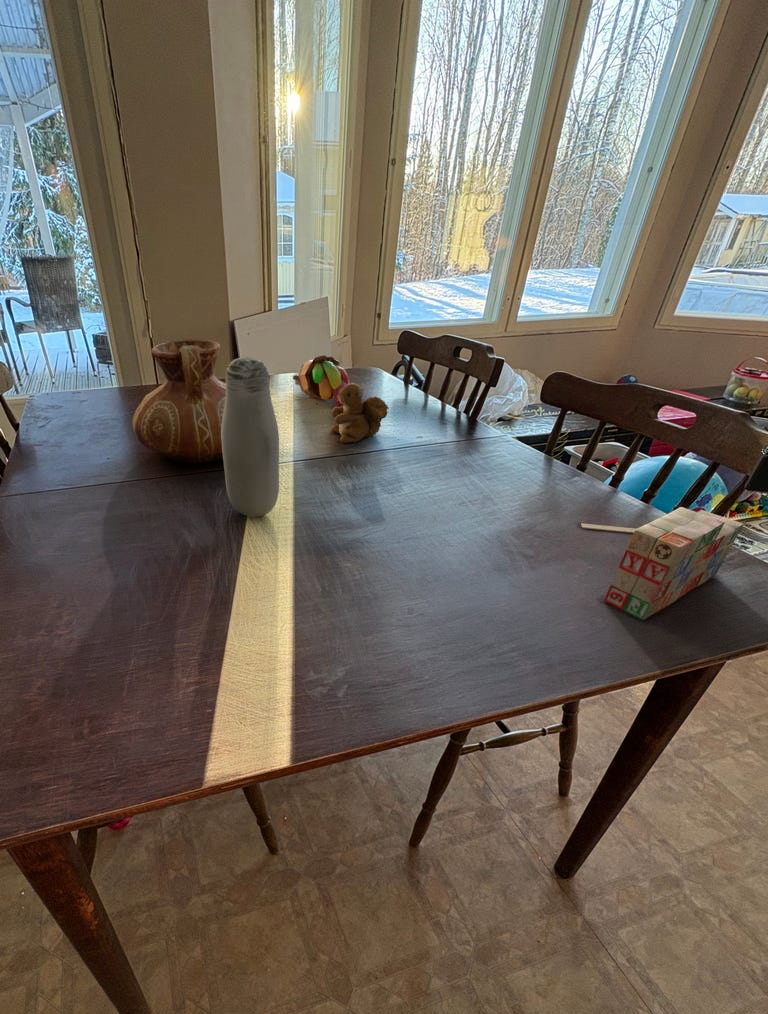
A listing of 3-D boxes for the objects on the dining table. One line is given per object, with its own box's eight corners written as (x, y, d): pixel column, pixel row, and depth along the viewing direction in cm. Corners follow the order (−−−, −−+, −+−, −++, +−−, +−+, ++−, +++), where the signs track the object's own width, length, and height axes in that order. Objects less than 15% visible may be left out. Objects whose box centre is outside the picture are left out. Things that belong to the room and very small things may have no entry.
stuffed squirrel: (328, 431, 144) (329, 379, 136) (379, 429, 145) (383, 376, 137) (334, 444, 136) (336, 389, 128) (387, 441, 137) (393, 386, 129)
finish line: (687, 534, 97) (687, 533, 96) (690, 538, 95) (690, 537, 95) (581, 524, 100) (581, 523, 100) (582, 528, 99) (582, 527, 99)
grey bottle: (219, 516, 105) (202, 360, 87) (251, 498, 111) (242, 349, 94) (258, 529, 100) (249, 367, 83) (289, 509, 107) (287, 355, 89)
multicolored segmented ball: (326, 369, 178) (364, 355, 157) (321, 416, 183) (357, 410, 161) (285, 360, 173) (318, 345, 151) (281, 410, 177) (312, 403, 155)
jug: (118, 447, 136) (94, 337, 121) (214, 422, 151) (204, 322, 135) (178, 481, 119) (159, 358, 103) (281, 450, 133) (278, 337, 118)
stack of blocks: (675, 559, 90) (711, 490, 82) (715, 576, 86) (757, 505, 78) (602, 601, 81) (634, 528, 73) (642, 621, 77) (681, 546, 69)
